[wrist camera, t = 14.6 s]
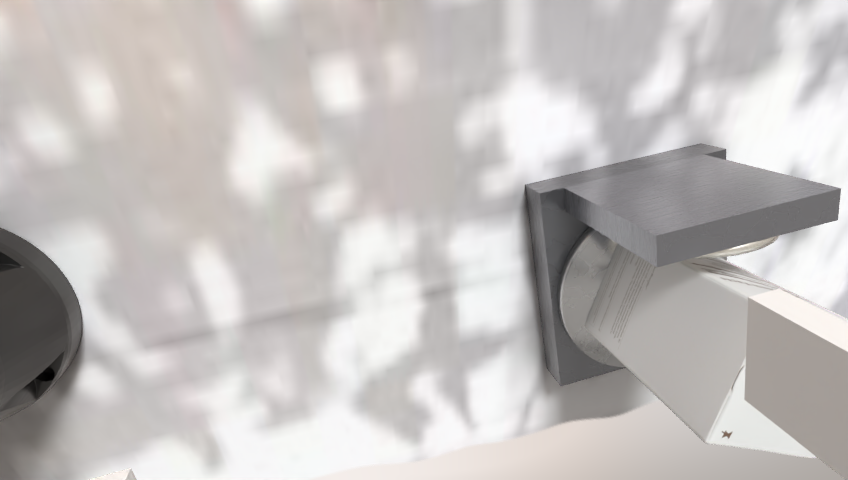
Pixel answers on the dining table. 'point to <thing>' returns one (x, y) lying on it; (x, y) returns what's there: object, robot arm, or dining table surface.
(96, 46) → the dining table surface
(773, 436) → the supplement box
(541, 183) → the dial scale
